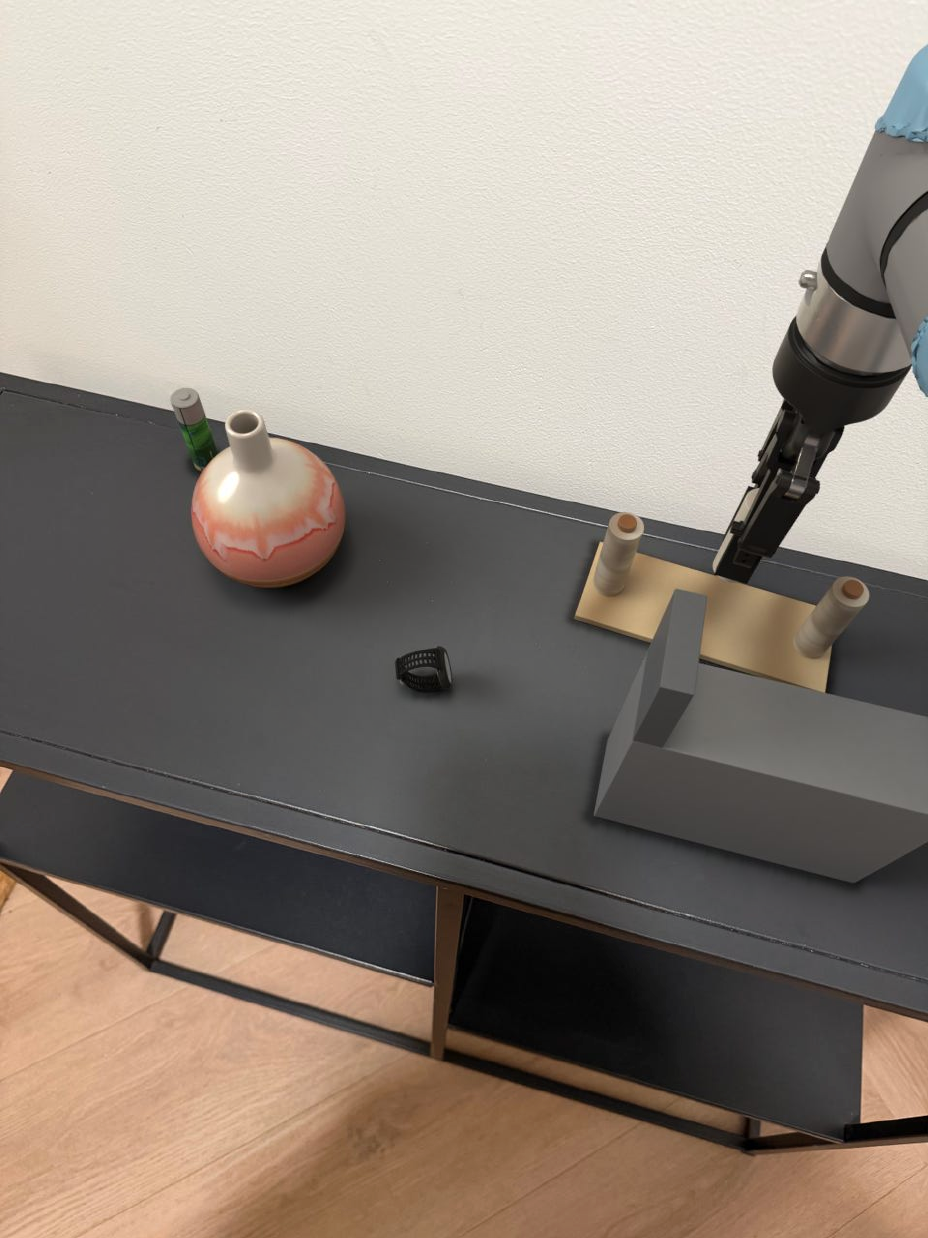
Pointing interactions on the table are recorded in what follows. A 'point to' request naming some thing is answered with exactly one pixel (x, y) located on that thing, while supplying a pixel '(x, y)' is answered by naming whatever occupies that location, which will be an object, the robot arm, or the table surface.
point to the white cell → (740, 516)
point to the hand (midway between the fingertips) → (735, 558)
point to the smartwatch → (440, 665)
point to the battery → (194, 426)
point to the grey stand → (762, 762)
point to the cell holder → (718, 611)
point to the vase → (266, 507)
